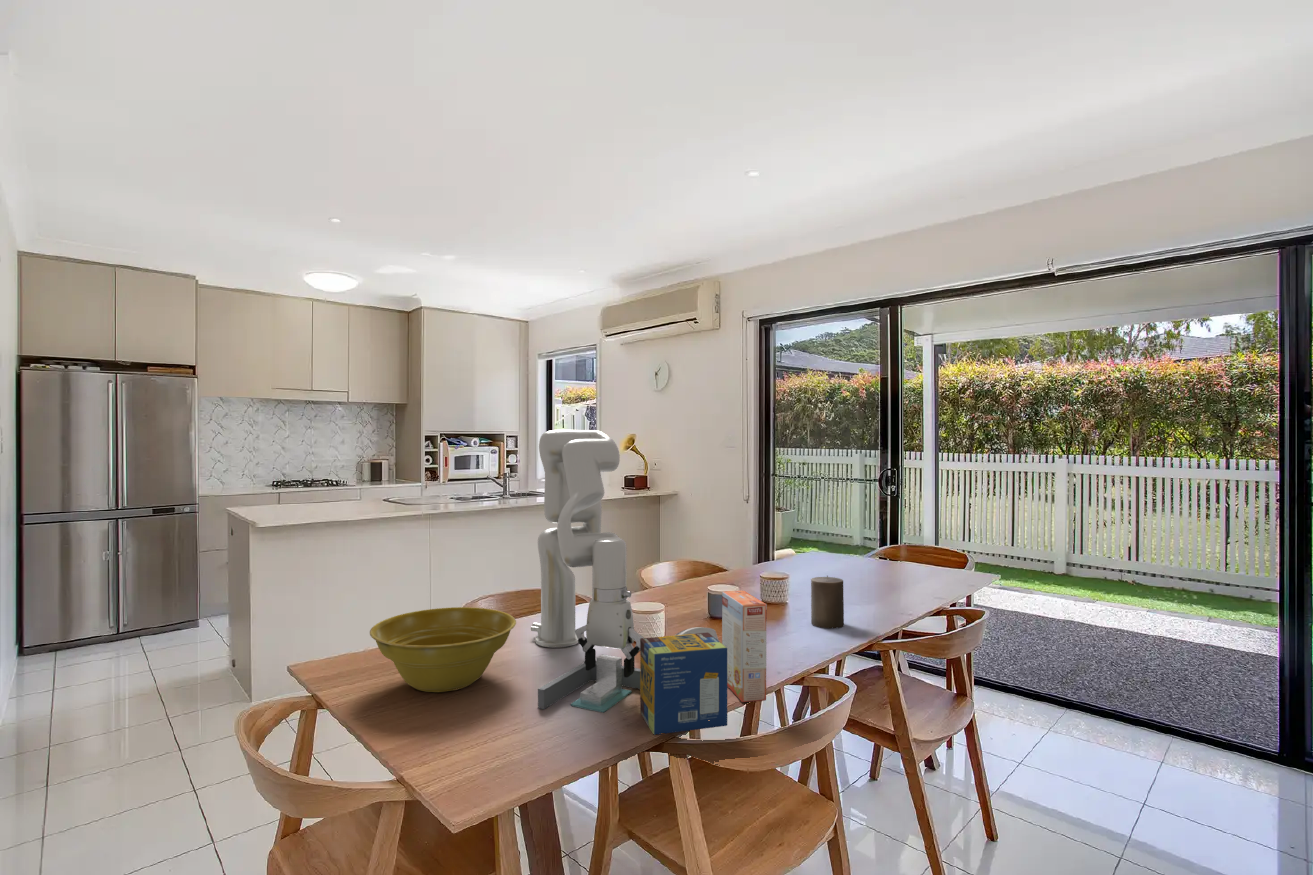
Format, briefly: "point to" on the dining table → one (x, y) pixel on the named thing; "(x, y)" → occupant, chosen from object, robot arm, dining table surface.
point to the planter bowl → (443, 645)
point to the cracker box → (745, 644)
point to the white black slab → (699, 631)
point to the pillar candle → (827, 602)
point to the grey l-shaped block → (604, 681)
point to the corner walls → (577, 684)
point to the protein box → (683, 682)
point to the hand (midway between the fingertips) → (609, 672)
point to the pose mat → (604, 706)
